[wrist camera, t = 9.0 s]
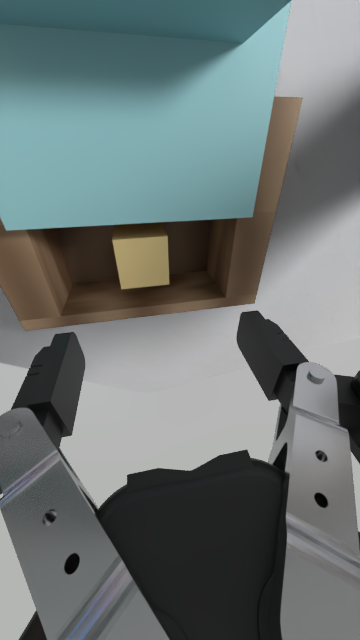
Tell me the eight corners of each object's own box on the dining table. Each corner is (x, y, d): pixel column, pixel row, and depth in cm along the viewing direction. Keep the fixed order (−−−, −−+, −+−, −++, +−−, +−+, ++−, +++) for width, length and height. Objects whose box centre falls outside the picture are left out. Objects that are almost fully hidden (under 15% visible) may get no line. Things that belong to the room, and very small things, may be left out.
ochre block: (158, 220, 21) (167, 236, 17) (161, 261, 23) (169, 284, 19) (114, 222, 20) (112, 239, 16) (121, 265, 22) (121, 289, 18)
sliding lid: (279, 4, 10) (374, -83, 7) (246, 214, 16) (286, 234, 12) (-101, -39, 8) (-311, -218, 4) (12, 225, 13) (-32, 256, 10)
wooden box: (254, 111, 18) (302, 97, 13) (230, 275, 26) (254, 303, 21) (-35, 104, 14) (-111, 81, 10) (44, 293, 23) (24, 330, 18)
